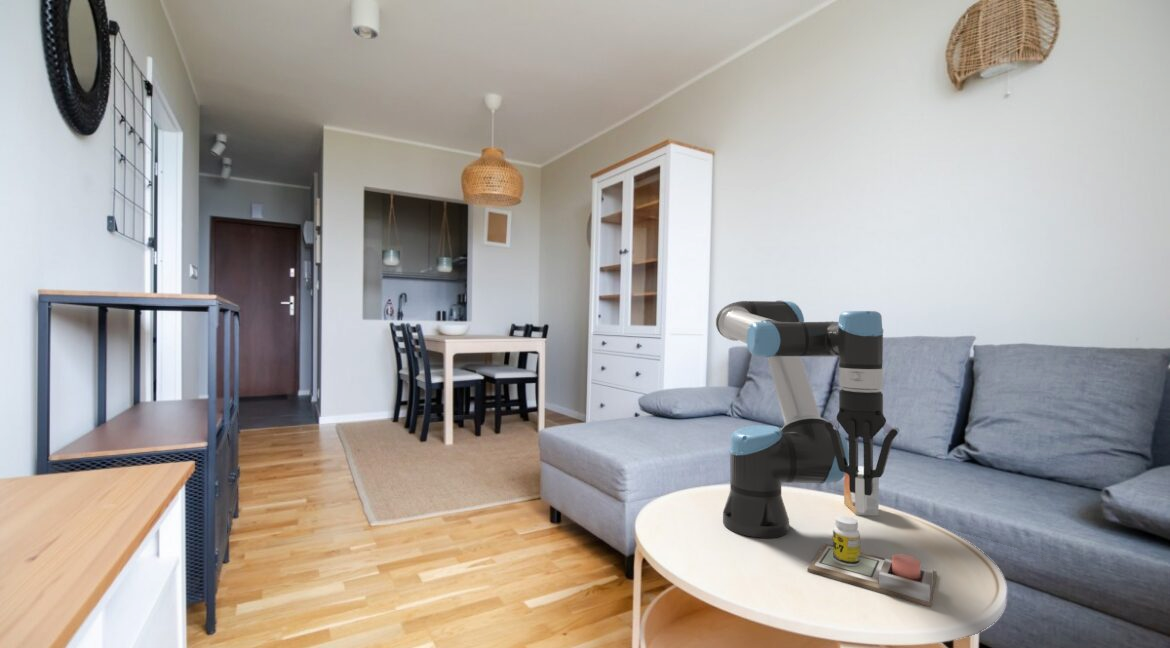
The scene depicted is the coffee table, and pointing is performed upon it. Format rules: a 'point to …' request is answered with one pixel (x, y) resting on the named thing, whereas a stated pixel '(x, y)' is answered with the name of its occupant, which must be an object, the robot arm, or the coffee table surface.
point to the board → (875, 576)
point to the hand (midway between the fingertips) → (861, 510)
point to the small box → (871, 500)
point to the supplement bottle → (846, 541)
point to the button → (906, 567)
